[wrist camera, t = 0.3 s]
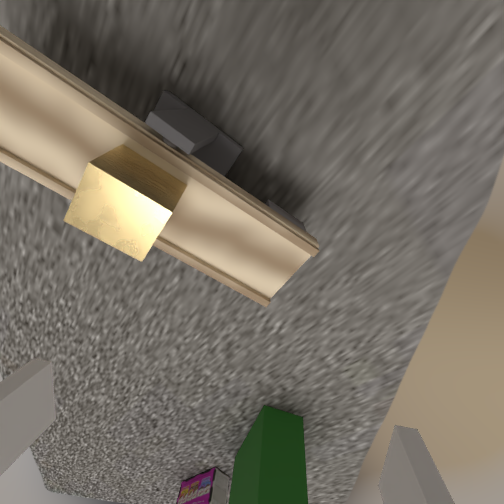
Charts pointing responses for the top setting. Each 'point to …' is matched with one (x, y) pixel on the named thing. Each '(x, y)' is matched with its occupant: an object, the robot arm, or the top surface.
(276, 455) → the hardback book
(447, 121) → the top surface
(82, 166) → the beam
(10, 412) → the robot arm
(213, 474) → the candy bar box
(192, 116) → the pivot stand
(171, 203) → the rider
